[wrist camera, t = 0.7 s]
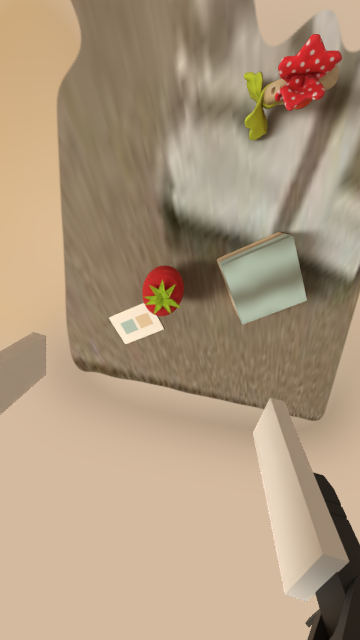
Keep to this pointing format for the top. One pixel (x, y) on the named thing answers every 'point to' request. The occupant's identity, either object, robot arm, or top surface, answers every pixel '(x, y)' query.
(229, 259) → the base brick
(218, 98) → the top surface
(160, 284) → the strawberry
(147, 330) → the page
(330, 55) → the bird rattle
